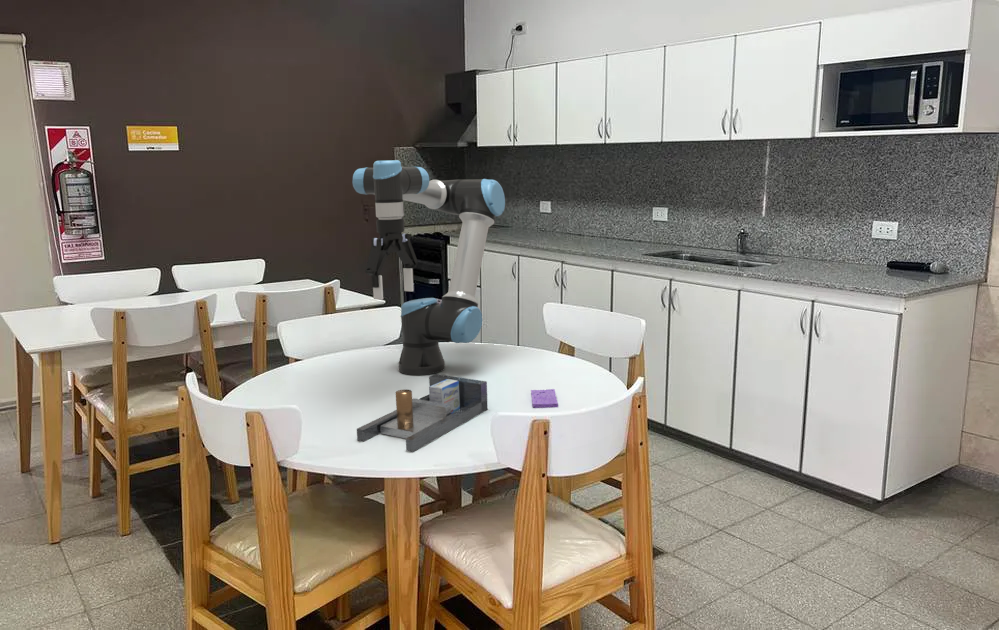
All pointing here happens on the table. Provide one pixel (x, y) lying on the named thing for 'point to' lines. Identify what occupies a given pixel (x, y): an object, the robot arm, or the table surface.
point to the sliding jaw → (414, 415)
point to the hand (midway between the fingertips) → (394, 295)
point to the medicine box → (446, 393)
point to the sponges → (544, 398)
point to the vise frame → (470, 406)
